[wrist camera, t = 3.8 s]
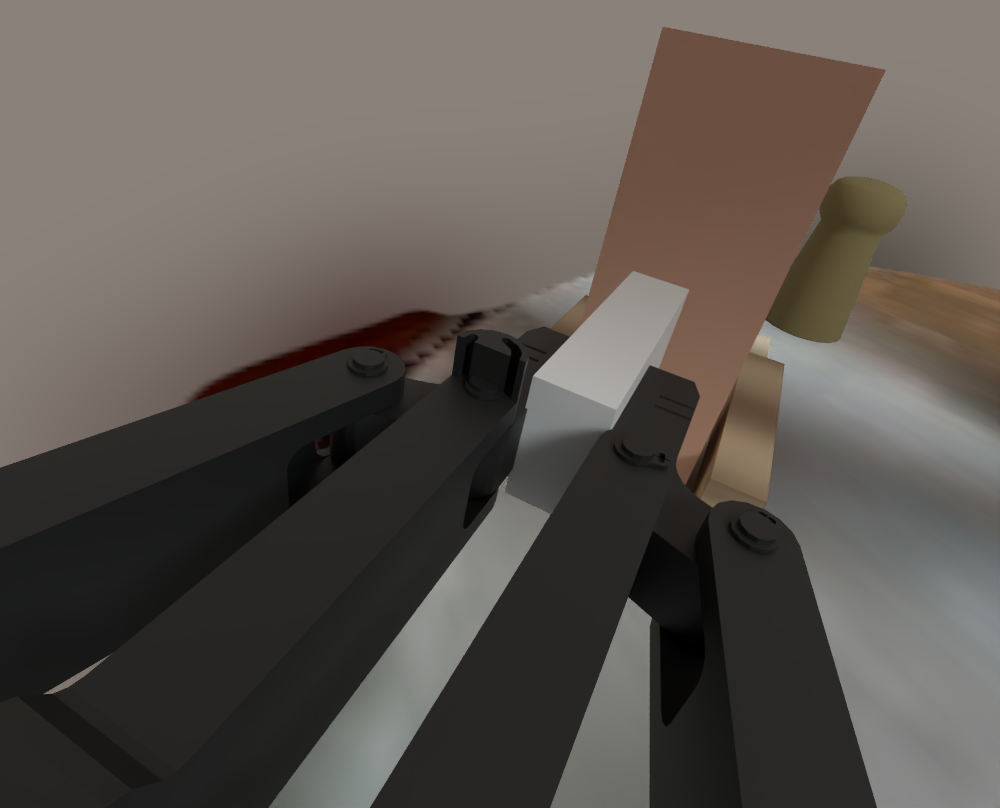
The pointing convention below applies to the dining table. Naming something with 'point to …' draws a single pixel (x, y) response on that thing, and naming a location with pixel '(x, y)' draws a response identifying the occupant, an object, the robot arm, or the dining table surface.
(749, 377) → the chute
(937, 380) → the dining table surface
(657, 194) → the post
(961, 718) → the dining table surface
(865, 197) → the olive green pawn
